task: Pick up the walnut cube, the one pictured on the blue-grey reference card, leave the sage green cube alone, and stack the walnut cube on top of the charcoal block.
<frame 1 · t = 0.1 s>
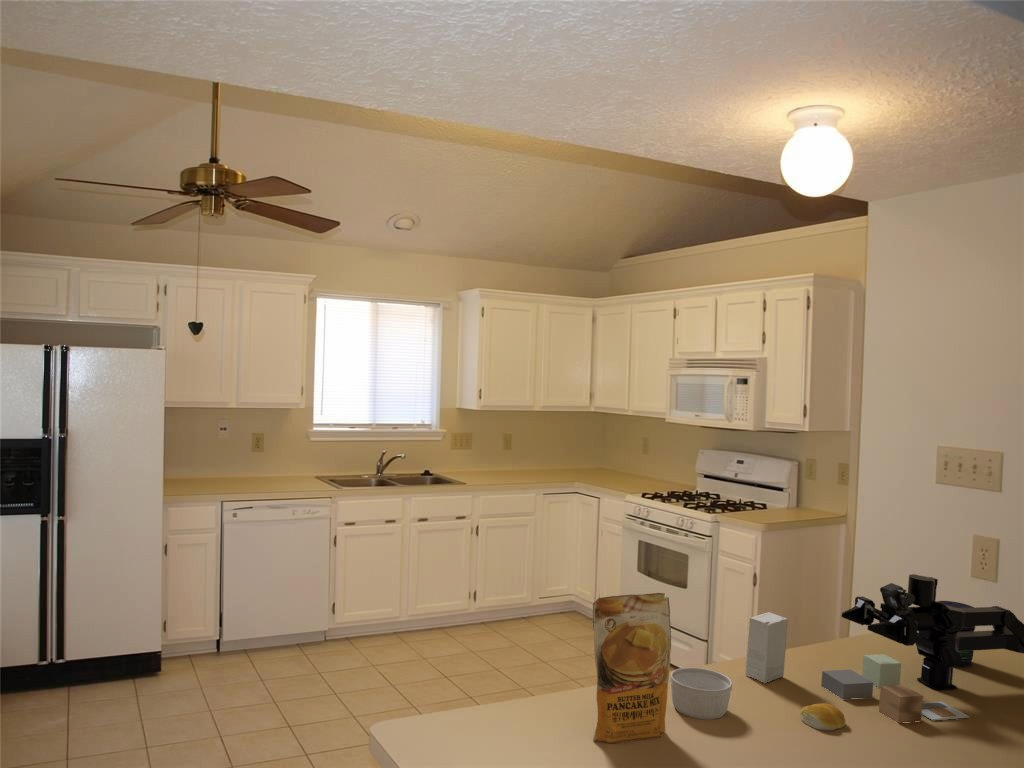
hand: (854, 621, 196), 17 cm above the counter, tool horizontal, fingers open, 9 cm apart
walnut cube: (899, 717, 182), on the counter
ramekin: (698, 710, 180), on the counter
skincare box: (764, 677, 202), on the counter
bread roll: (821, 724, 177), on the counter
pancake mix bag: (627, 735, 165), on the counter
storage jar: (951, 661, 222), on the counter
charcoal block: (846, 693, 195), on the counter
reference card: (936, 712, 186), on the counter
sage cube: (880, 683, 202), on the counter
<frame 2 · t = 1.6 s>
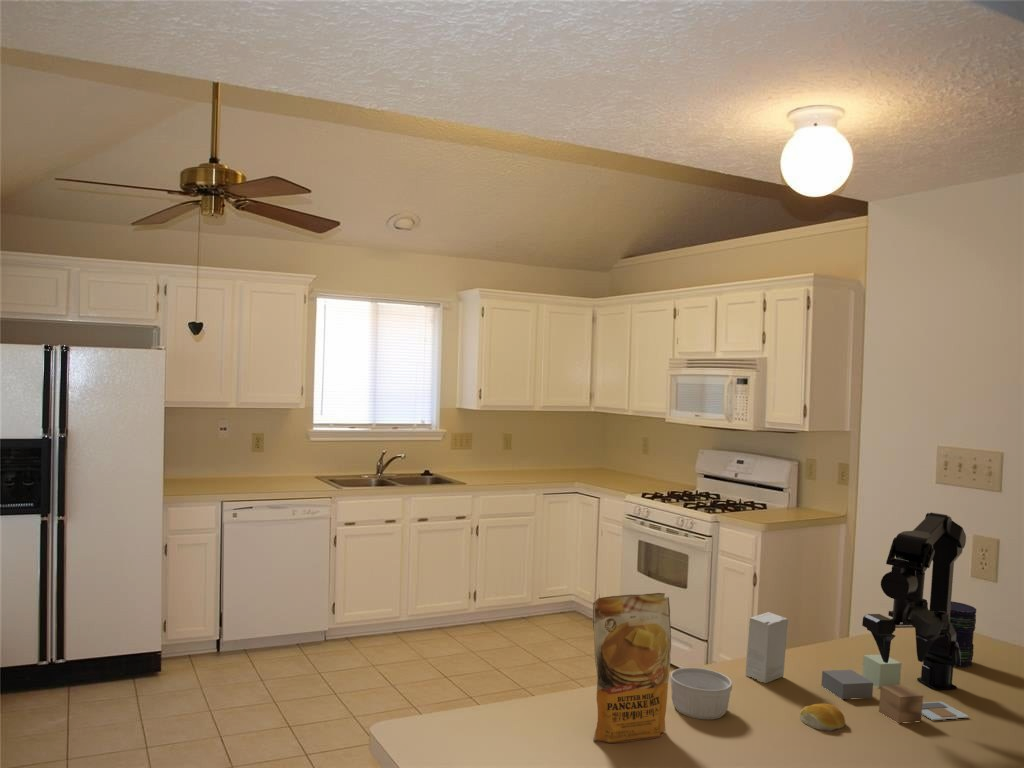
hand: (903, 661, 182), 12 cm above the counter, tool pointing down, fingers open, 9 cm apart
nothing on the counter moved.
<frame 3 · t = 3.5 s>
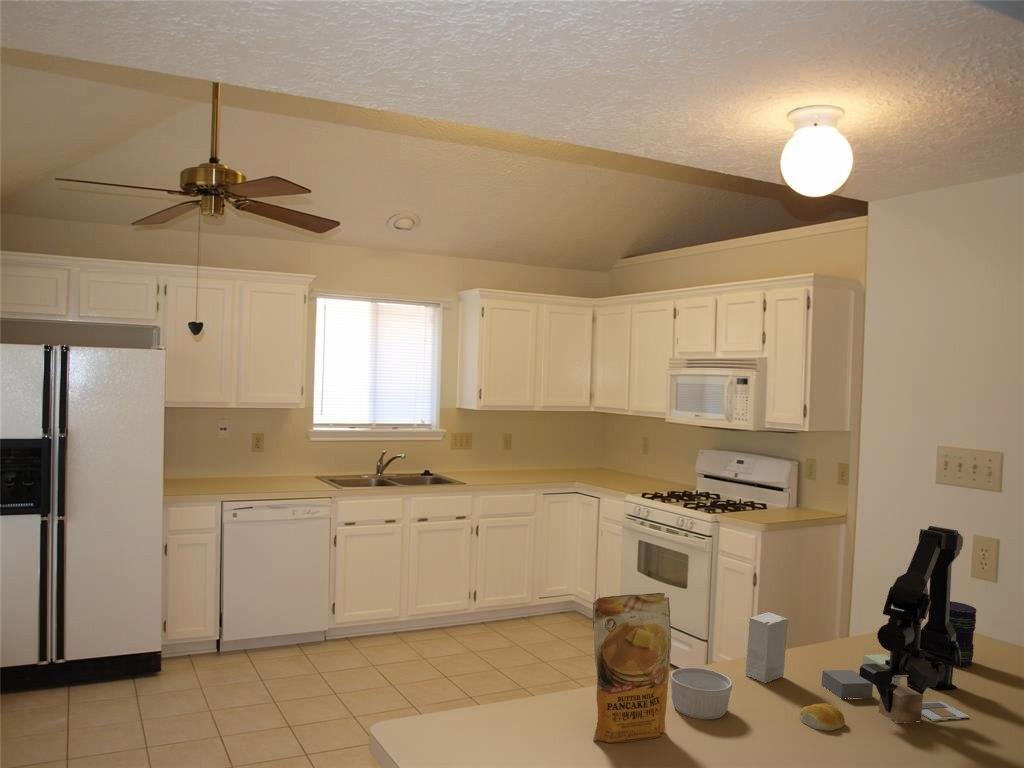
hand: (900, 711, 182), 1 cm above the counter, tool pointing down, fingers closed on walnut cube, 6 cm apart
walnut cube: (899, 717, 182), on the counter, touching gripper
everything else where it was.
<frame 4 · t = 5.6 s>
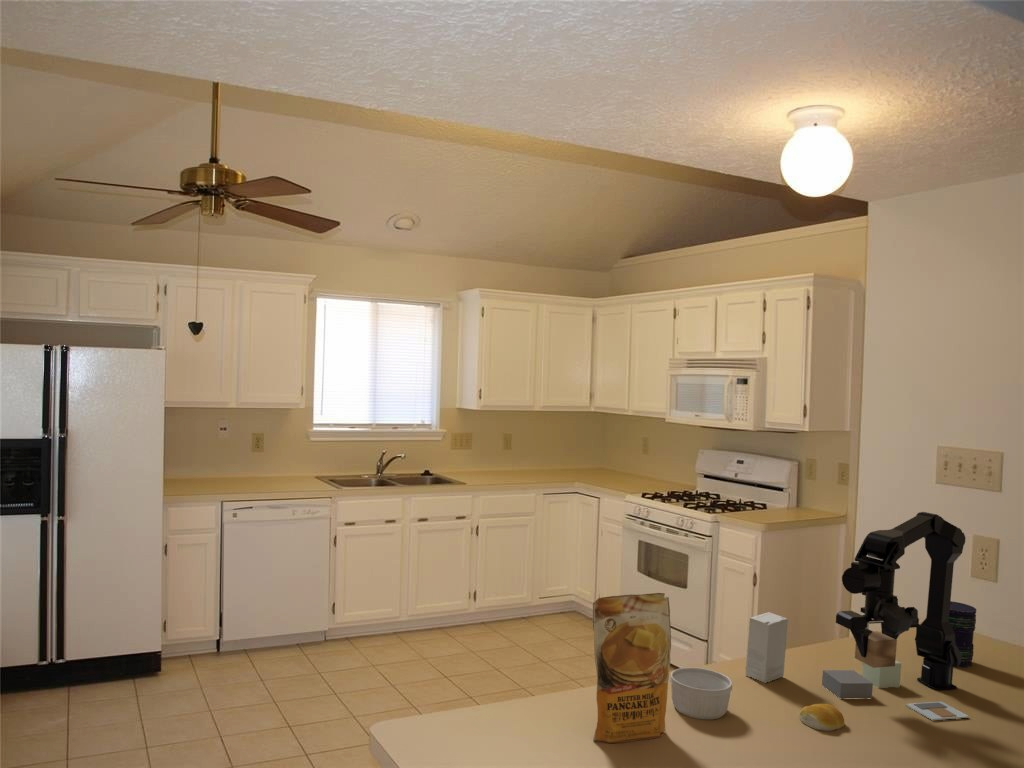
hand: (874, 656, 189), 11 cm above the counter, tool pointing down, fingers closed on walnut cube, 6 cm apart
walnut cube: (874, 662, 189), point 10 cm above the counter, touching gripper
everything else where it was.
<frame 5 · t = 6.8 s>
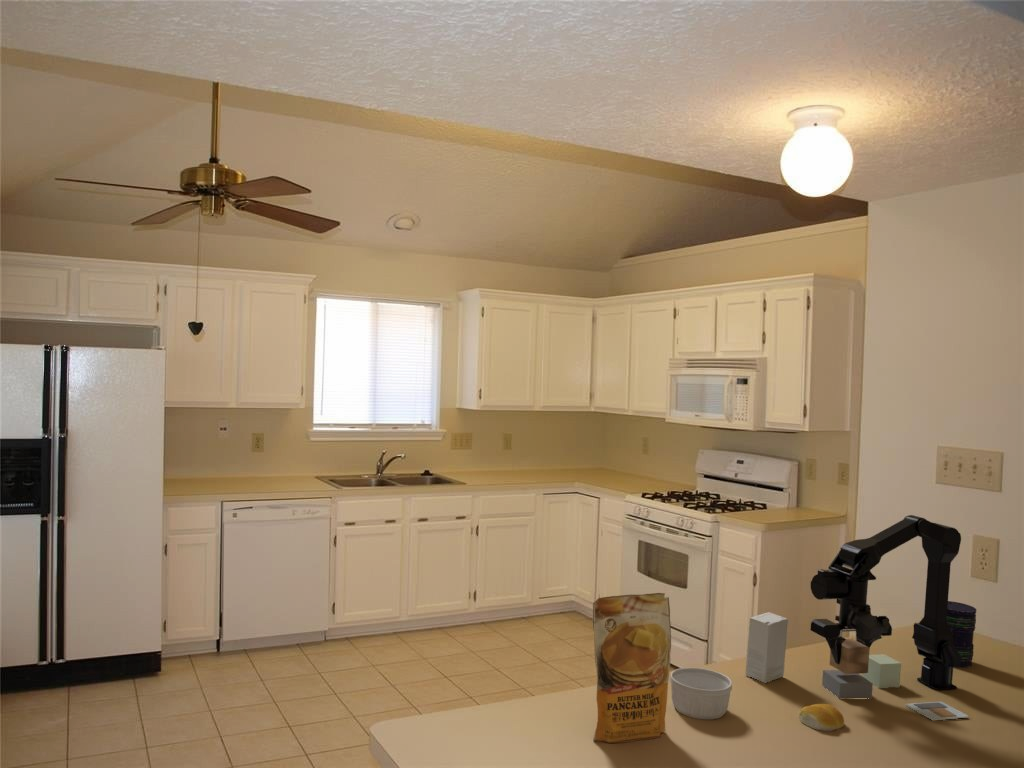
hand: (848, 663, 195), 7 cm above the counter, tool pointing down, fingers closed on walnut cube, 6 cm apart
walnut cube: (848, 668, 195), point 6 cm above the counter, touching gripper
everything else where it was.
when the fingers open (7 cm above the counter, at t = 7.6 s): walnut cube drops 2 cm, point 4 cm above the counter.
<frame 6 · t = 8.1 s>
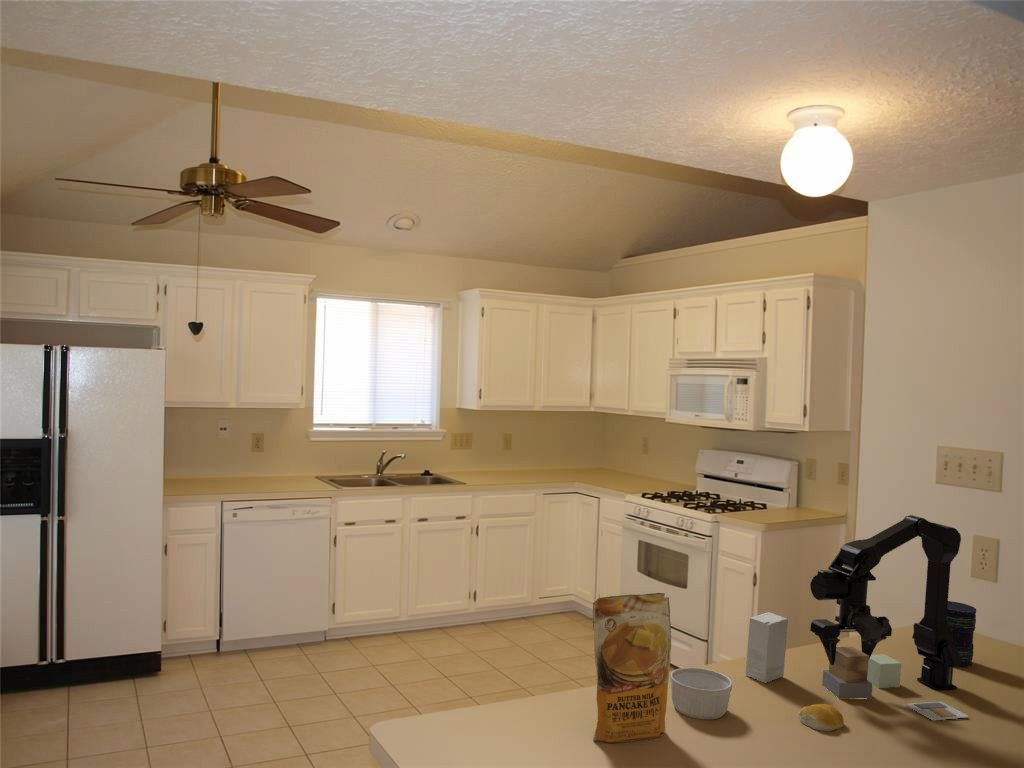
hand: (848, 663, 195), 7 cm above the counter, tool pointing down, fingers open, 9 cm apart
walnut cube: (847, 676, 195), point 4 cm above the counter
everything else where it was.
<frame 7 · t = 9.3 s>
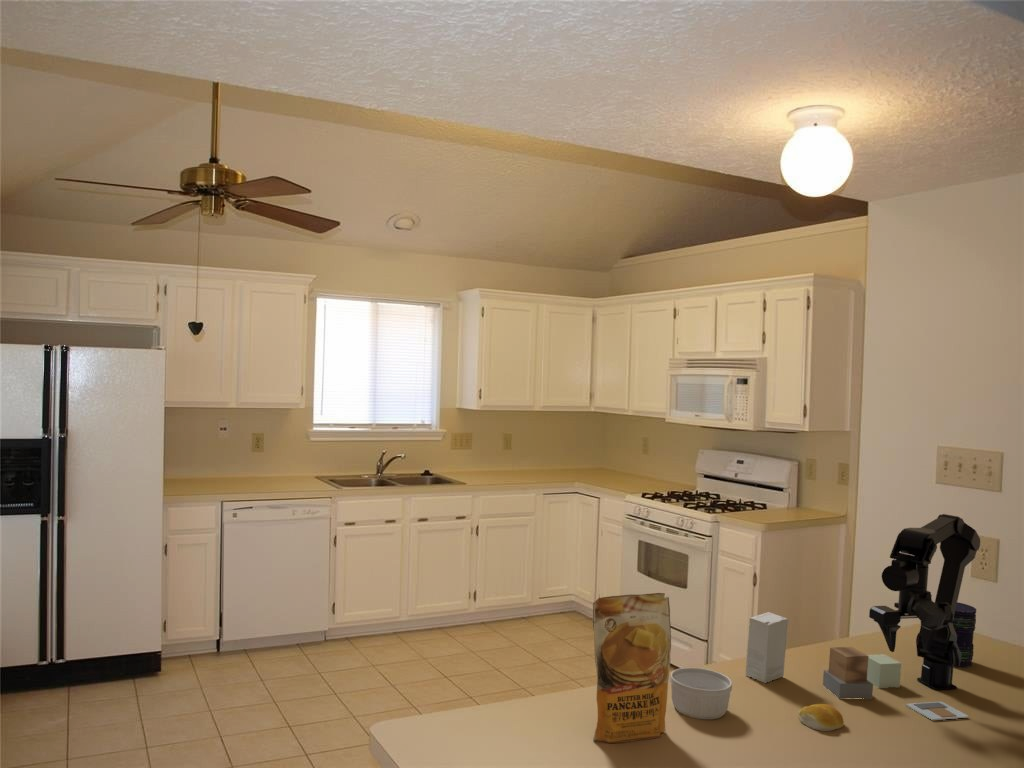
hand: (908, 650, 192), 12 cm above the counter, tool pointing down, fingers open, 9 cm apart
walnut cube: (847, 676, 195), point 4 cm above the counter, touching charcoal block
charcoal block: (846, 693, 195), on the counter, touching walnut cube
everything else where it was.
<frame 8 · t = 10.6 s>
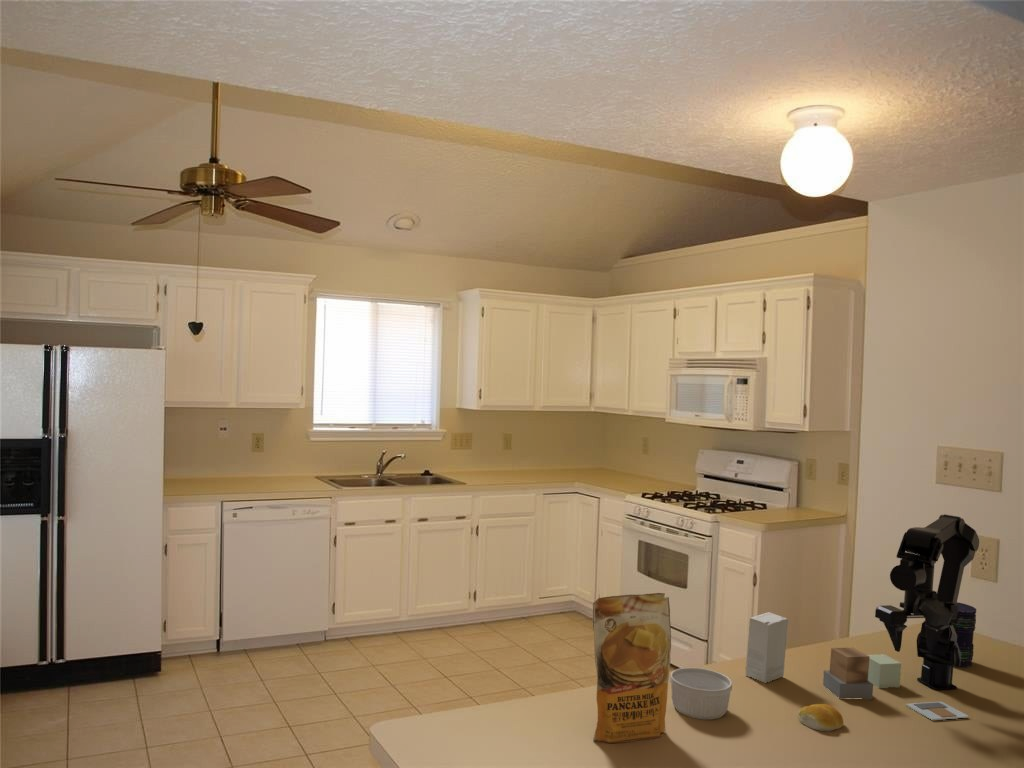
hand: (913, 650, 191), 12 cm above the counter, tool pointing down, fingers open, 9 cm apart
nothing on the counter moved.
at the end: walnut cube 0.1 cm off-centre on the charcoal block, point 4.0 cm above the charcoal block's base; walnut cube tilted 1°; sage cube moved 0.1 cm from its start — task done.
